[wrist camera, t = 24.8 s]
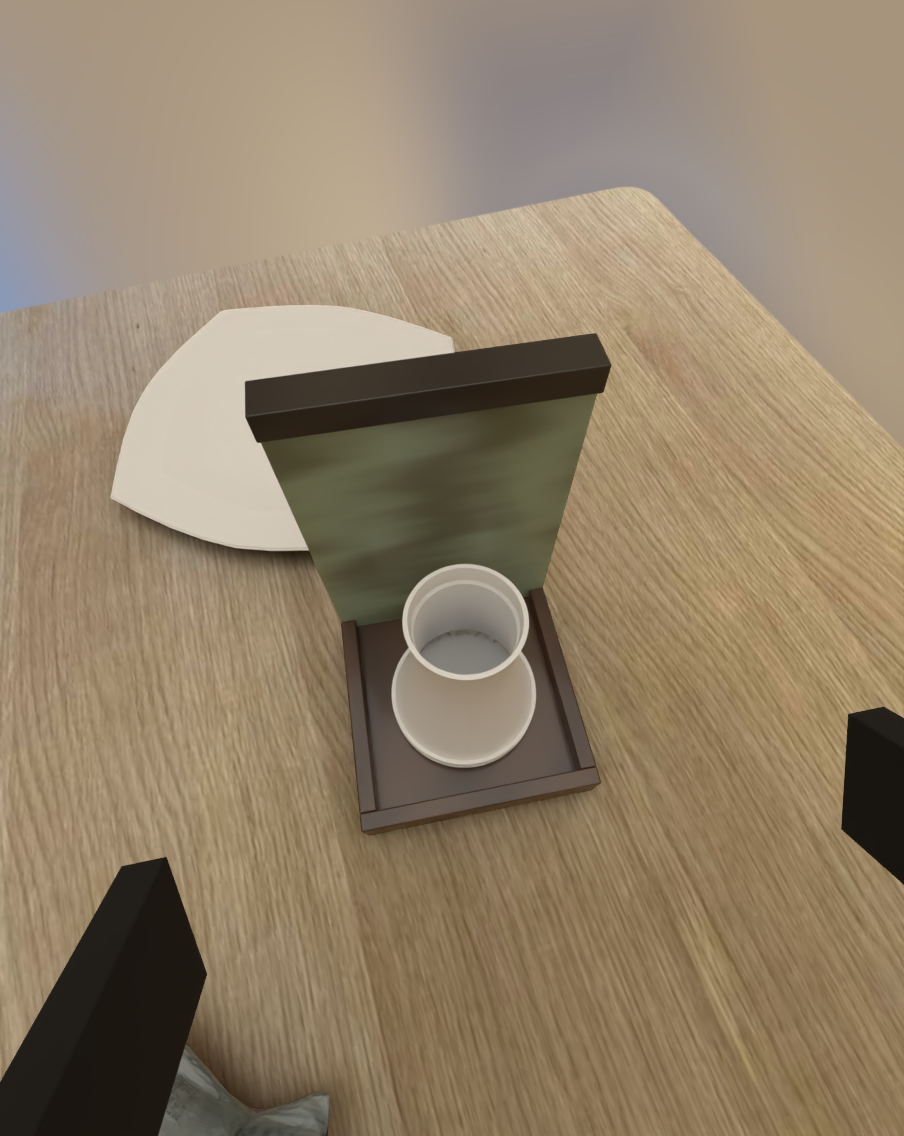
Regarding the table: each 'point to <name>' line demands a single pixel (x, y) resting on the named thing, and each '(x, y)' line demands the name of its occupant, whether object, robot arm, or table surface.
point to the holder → (438, 539)
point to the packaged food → (234, 1109)
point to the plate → (241, 417)
